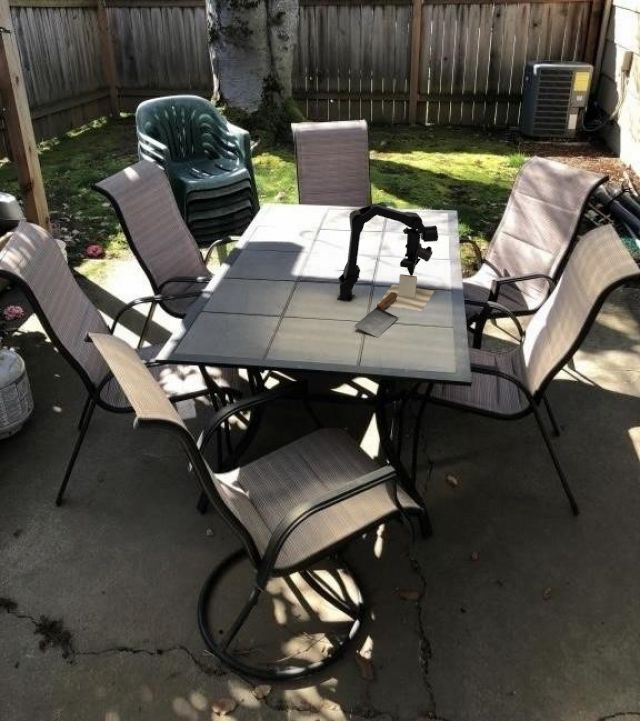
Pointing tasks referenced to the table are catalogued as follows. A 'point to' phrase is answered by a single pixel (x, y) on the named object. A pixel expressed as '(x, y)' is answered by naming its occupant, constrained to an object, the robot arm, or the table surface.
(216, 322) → the table surface
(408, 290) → the tile
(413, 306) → the board
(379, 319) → the meat cleaver
